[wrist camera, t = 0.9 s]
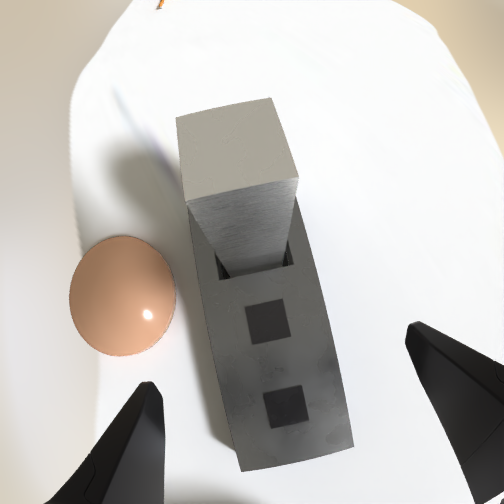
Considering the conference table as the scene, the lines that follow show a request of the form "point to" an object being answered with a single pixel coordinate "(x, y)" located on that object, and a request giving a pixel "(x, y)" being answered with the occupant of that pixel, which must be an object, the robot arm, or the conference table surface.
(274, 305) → the rack rail
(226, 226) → the steel peg
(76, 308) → the terracotta coaster
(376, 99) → the conference table surface
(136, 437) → the robot arm
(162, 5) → the katana
